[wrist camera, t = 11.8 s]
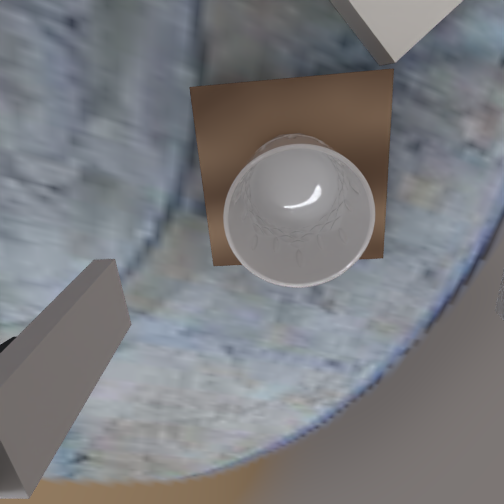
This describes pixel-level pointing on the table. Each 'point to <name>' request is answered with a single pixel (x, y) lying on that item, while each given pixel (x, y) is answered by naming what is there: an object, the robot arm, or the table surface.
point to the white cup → (298, 212)
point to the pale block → (392, 23)
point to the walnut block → (287, 122)
